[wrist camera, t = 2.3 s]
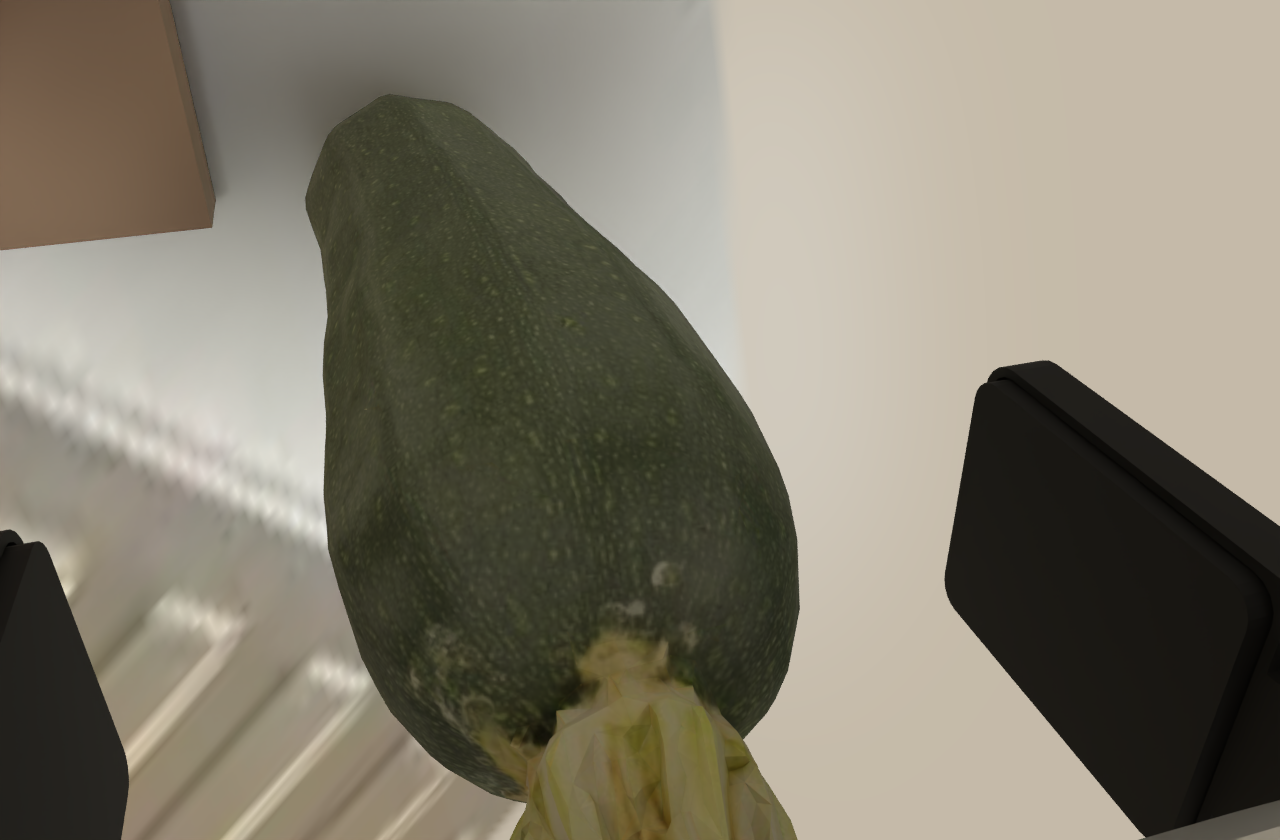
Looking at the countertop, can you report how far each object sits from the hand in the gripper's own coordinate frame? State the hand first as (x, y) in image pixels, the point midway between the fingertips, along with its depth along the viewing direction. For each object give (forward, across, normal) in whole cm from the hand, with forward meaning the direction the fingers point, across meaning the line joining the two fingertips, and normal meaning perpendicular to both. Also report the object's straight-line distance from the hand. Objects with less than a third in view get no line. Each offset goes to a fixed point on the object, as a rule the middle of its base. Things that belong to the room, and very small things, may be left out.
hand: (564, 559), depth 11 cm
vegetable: (+14, 0, -1) cm, 14 cm away
